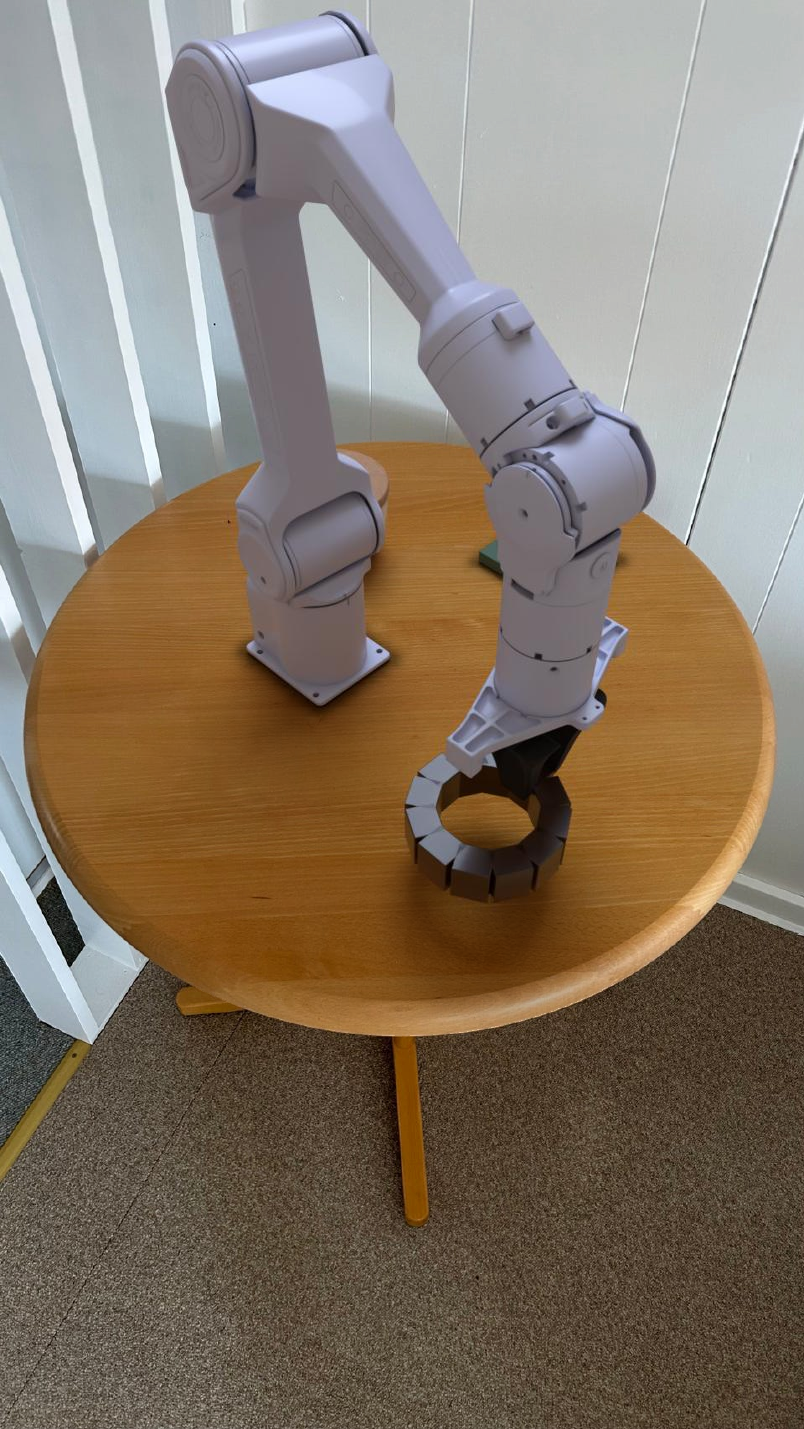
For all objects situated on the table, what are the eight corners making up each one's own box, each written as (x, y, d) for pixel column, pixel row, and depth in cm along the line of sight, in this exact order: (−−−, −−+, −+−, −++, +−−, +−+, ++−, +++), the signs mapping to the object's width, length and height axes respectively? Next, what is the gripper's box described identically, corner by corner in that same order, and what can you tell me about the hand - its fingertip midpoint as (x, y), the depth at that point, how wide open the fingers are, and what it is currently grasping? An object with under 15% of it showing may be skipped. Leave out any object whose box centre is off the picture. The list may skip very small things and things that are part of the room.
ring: (373, 833, 64) (372, 806, 61) (480, 747, 69) (482, 719, 66) (492, 933, 59) (495, 907, 56) (597, 833, 64) (604, 805, 61)
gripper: (520, 734, 48) (501, 881, 59) (685, 598, 55) (643, 750, 65) (419, 664, 52) (418, 814, 62) (587, 544, 59) (561, 697, 69)
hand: (528, 777), depth 64 cm, fingers closed on ring, 2 cm apart
